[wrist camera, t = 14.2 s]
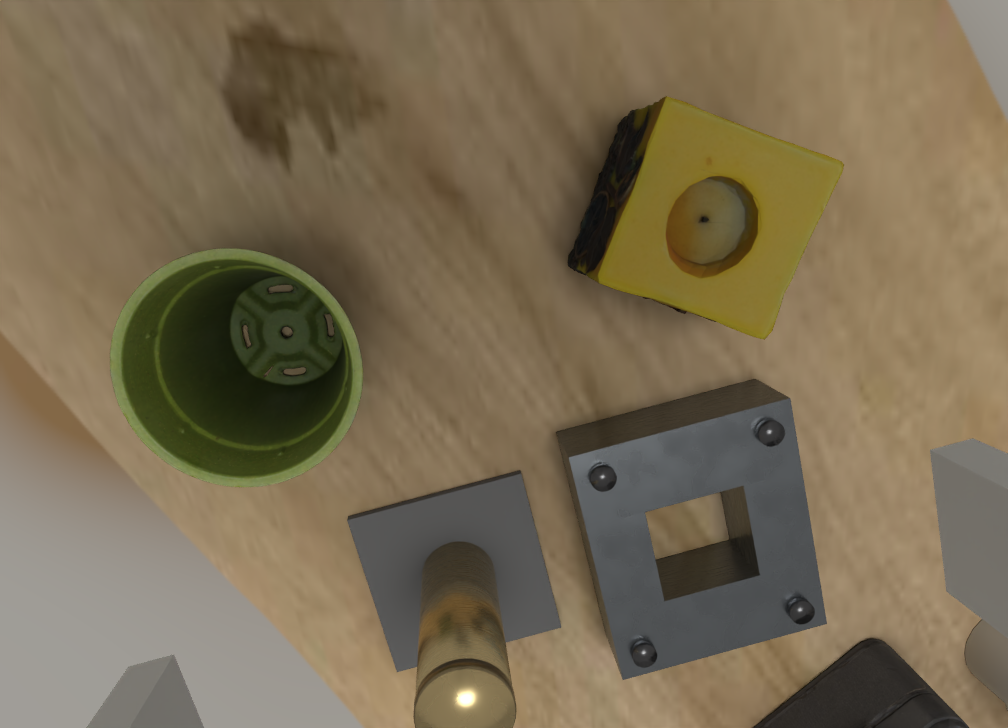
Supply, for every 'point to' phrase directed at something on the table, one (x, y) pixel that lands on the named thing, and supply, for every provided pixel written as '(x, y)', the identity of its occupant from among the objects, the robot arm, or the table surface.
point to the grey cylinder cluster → (989, 658)
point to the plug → (462, 644)
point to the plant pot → (235, 368)
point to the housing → (708, 570)
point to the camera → (866, 696)
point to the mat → (444, 519)
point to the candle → (703, 215)
